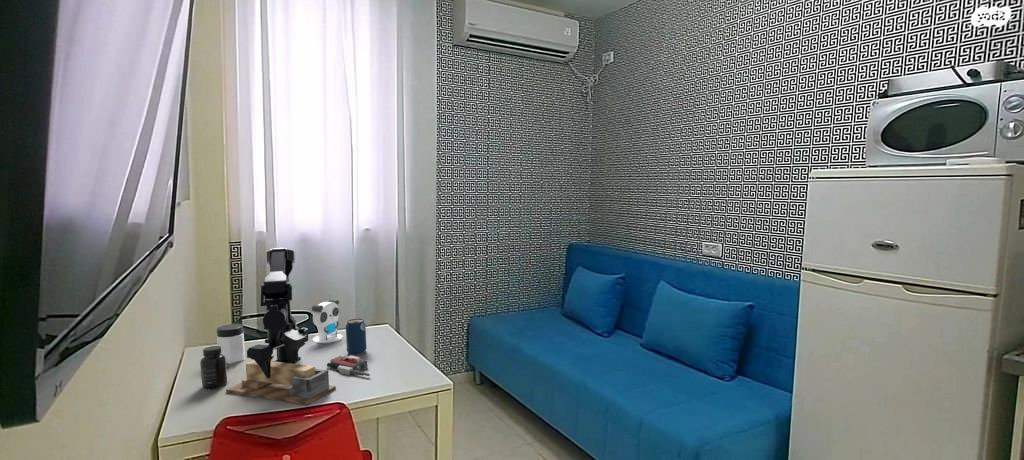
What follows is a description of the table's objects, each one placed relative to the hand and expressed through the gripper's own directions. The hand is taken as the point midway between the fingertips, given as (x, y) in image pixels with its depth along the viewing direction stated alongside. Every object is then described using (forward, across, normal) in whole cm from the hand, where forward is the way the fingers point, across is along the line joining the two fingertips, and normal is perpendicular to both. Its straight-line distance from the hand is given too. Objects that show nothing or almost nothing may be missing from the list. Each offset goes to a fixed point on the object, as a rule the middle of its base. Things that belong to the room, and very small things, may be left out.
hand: (280, 372), depth 154 cm
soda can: (+6, +37, 0) cm, 37 cm away
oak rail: (+3, 0, 0) cm, 3 cm away
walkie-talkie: (+6, +21, -10) cm, 24 cm away
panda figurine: (+6, +48, +22) cm, 53 cm away
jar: (+6, +17, +38) cm, 42 cm away
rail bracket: (+6, 0, 0) cm, 6 cm away
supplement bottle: (+6, -3, +23) cm, 24 cm away
